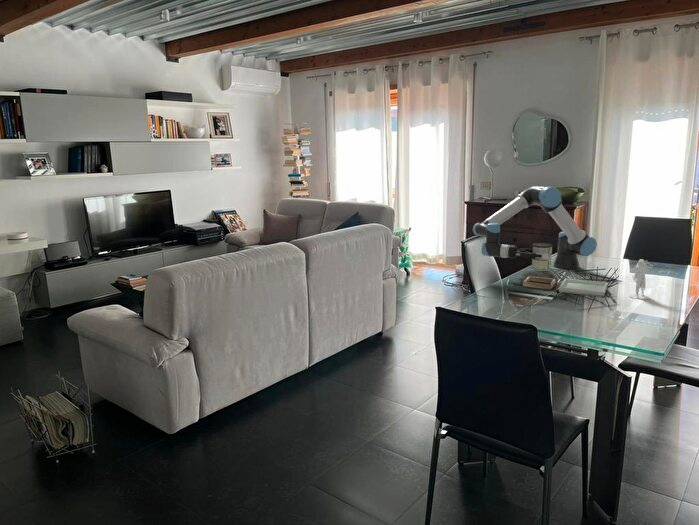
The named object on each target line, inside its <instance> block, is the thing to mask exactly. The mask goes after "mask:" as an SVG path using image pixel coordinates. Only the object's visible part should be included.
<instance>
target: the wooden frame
mask: <svg viewBox="0 0 699 525" xmlns="http://www.w3.org/2000/svg"><path fill="white" fill-rule="evenodd" d="M556 282H557V281H556V278H550V277H549V278H548V277H538V276H532V275H531V276H530V275H529V276H528V277H526V278H525V279H524V281H523V282H522V287H525V288H535V289H542V290H543V289H544V290H552V289H553V287H554V286H555V284H556Z"/></svg>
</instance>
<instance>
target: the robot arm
mask: <svg viewBox="0 0 699 525" xmlns="http://www.w3.org/2000/svg"><path fill="white" fill-rule="evenodd" d="M562 202H563V200H562V193H561V191H560V190H559V189H558V188H556V187H553V186H550V185H549V186H548V185H539V184H537V185H533V186H530V187H528V188H526V189H525V190H523V191H522V192H520V193H519V194H517V196H516V198H514V199H513V200H512V201H510V202H509V203H508V204H506V205H505V206H504V207H502V208H500V209H499V210H498V211H496V212H495V213H494V214H492V215H491V216H489V217H488V218H486V219H484V221H482V222H477V223H475V224H474V225H473V227H472V232H473V234H474V235H476V236H478V237H482V238H484V239H485V242H484V243H482V245H481V250H480V251H481V255H482V256H485V257H494V258H503V259H507V258H509V259H516V258H517V257H518V258H525V259H526V258H527V259H531V260H532V259H535V257H536V258H542V259H548V255H549V254H544V253H532V252H533V248H523V247H522V248H518V245H515V244H506V243H505V244H503V243H502V244H501V243H500V237H501V236H500V235H501V225H502V224H504V223H505V222H506V221H508V220H509V219H511V218H512V217H513V216H515V215H516V214H518V213H519V212H520V211H522V210H523V209H527V208H529V207H531V206H539V207H541V209H542V210H543V212H544V213H548V214H549V216H551V218H552V219H553V221H555V223H556V224H557V225H558V227H559V228H560V229H561V230H562V231H560V232H559V233H558V239H557V240H558V241H557V254H556V257H555V259H554V261H553V267H555V268H557V269H562V270H563V269H564V270H575V269H579V267H580V262H579V257H578V255H580V256H585V257H589V256H591V255H593V254H594V252H595V251H596V250H597V246H598V243H597V240H596V238H594V237H592V236H589V235H588V233H587V231H586V230H584V229H581V228H580V227H579V226H578V224H577V223H576V221H575V220H574V219H573V218H572V216H571V215H570V213H569V212H568V211H567V210H566V208H565V207H564V206H563V203H562ZM552 255H553V254H551V256H552Z"/></svg>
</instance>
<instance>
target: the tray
mask: <svg viewBox="0 0 699 525" xmlns="http://www.w3.org/2000/svg"><path fill="white" fill-rule="evenodd" d="M607 290H608V282H604V281H595V280H586V279H585V280H584V279H574V278H564V279H563V280H562V281H561V284H560V285H559V287H558V293H563V294H564V293H566V294H572V295H573V294H575V295H583V296H591V297H592V296H593V297H602V298H603V297H605V295H606V292H607Z"/></svg>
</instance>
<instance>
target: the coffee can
mask: <svg viewBox="0 0 699 525" xmlns="http://www.w3.org/2000/svg"><path fill="white" fill-rule="evenodd" d="M532 249H533V252H532V253H544V254H549V255H548V259H542V258H536V257H535V259H532V258H531V270H534V271H537V272H539V271H542V272H547V271H551V269H552V268H551V266H552V255H553V254H552V253H553V244H552V243H549V242H533V243H532ZM551 254H552V255H551Z"/></svg>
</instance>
